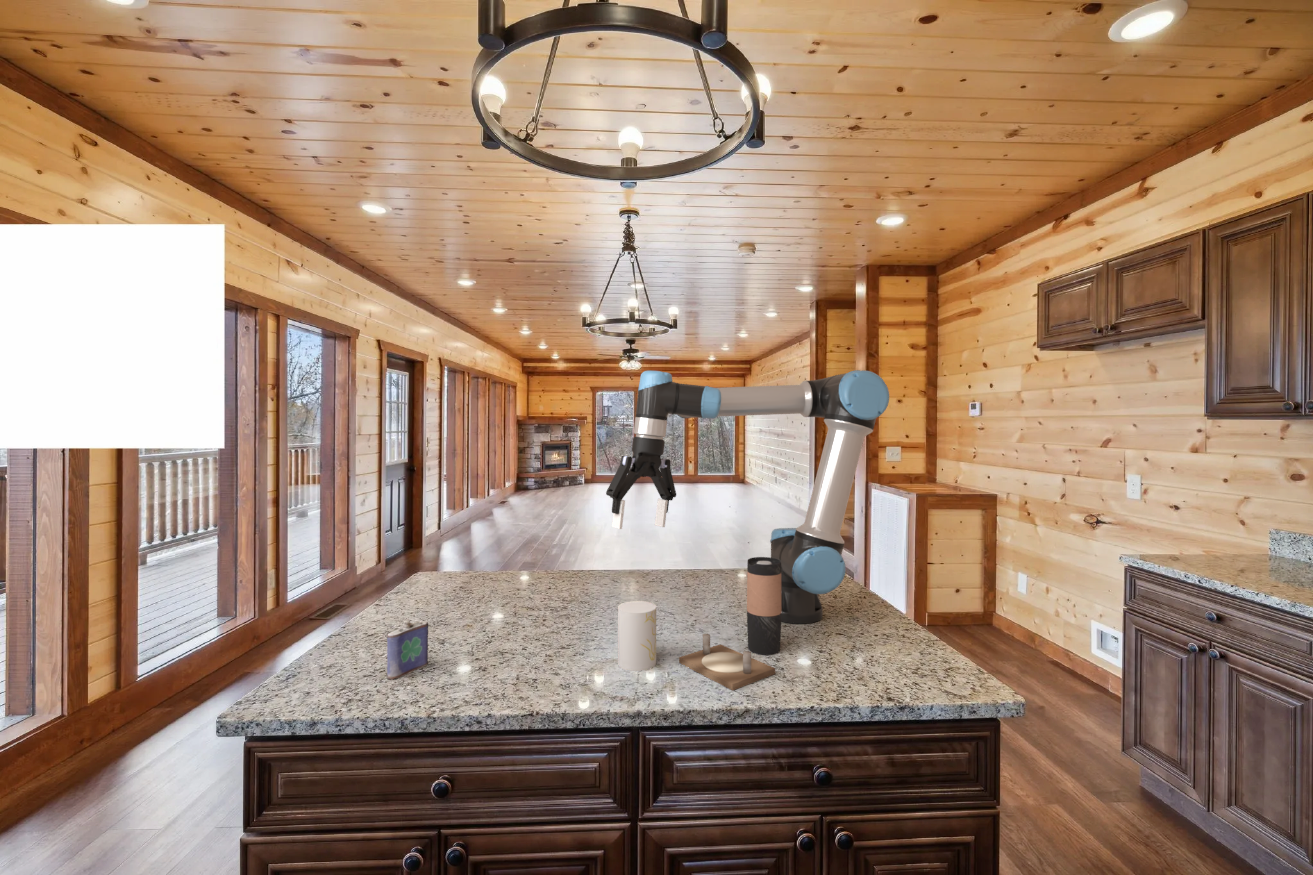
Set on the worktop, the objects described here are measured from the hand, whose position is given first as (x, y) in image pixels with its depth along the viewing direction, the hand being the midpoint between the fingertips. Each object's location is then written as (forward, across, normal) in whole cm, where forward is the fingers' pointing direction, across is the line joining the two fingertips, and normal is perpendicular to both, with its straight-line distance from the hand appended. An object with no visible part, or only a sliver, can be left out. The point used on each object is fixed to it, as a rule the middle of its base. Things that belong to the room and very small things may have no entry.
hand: (639, 527), depth 135 cm
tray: (+24, -4, +26) cm, 36 cm away
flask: (+32, +44, -18) cm, 57 cm away
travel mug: (+23, -18, +26) cm, 39 cm away
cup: (+27, +7, +12) cm, 30 cm away
